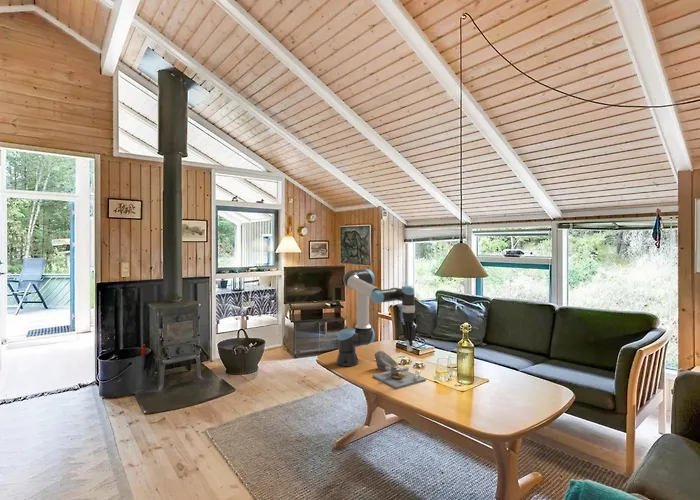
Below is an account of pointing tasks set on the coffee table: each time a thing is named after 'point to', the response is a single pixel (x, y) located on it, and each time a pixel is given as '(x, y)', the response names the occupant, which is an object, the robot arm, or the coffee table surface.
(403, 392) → the coffee table surface
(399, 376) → the cam capstan
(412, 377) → the stand board
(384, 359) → the rock
